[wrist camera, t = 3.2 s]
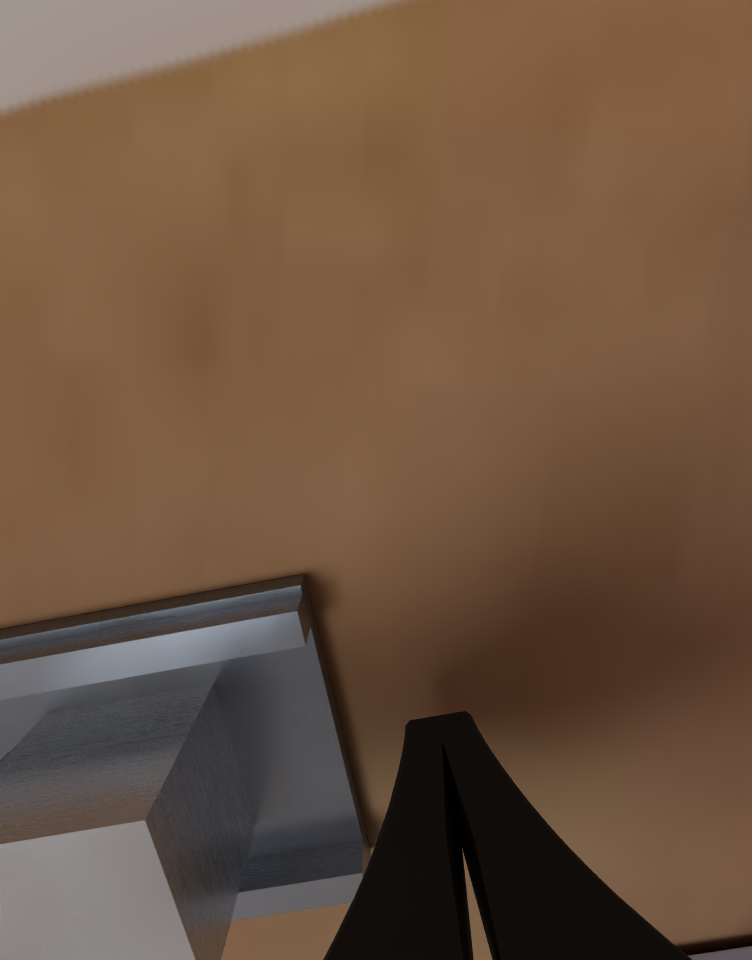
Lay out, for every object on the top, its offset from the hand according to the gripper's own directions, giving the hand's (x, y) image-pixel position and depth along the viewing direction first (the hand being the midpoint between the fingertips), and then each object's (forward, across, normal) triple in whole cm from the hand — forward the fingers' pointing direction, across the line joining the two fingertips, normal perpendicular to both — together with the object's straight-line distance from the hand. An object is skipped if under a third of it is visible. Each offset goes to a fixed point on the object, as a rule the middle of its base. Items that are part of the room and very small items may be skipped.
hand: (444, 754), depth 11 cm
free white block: (+1, +7, 0) cm, 7 cm away
